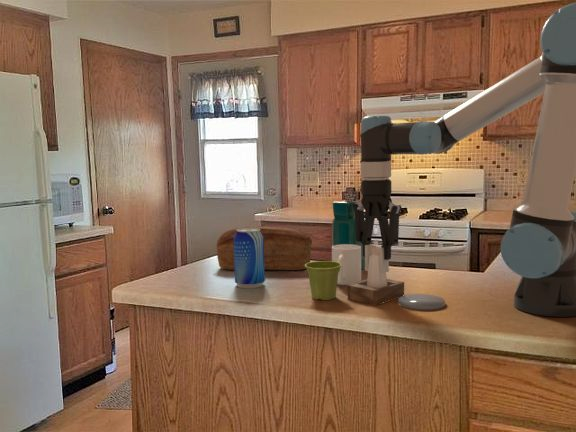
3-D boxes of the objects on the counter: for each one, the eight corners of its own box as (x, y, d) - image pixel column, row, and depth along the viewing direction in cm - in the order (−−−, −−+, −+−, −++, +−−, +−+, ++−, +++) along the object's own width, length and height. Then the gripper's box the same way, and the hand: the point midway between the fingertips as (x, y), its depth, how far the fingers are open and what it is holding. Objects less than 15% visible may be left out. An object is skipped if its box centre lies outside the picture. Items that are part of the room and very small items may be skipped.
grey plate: (453, 303, 134) (453, 299, 133) (429, 313, 126) (429, 308, 126) (414, 295, 141) (414, 291, 141) (389, 304, 133) (389, 300, 133)
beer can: (271, 284, 155) (269, 229, 153) (249, 290, 149) (247, 232, 147) (250, 280, 161) (249, 226, 159) (229, 286, 155) (227, 230, 153)
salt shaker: (362, 289, 140) (361, 246, 139) (374, 285, 144) (373, 243, 143) (380, 292, 136) (379, 248, 135) (391, 288, 140) (391, 245, 139)
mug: (354, 289, 148) (353, 252, 147) (324, 287, 151) (324, 250, 150) (364, 279, 159) (364, 244, 158) (336, 277, 162) (336, 243, 161)
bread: (311, 272, 171) (310, 229, 169) (214, 272, 174) (212, 230, 172) (313, 264, 183) (313, 224, 181) (222, 264, 186) (221, 224, 184)
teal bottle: (344, 266, 178) (343, 198, 176) (367, 268, 174) (367, 199, 171) (328, 271, 171) (327, 201, 168) (352, 274, 166) (351, 202, 163)
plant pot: (315, 304, 135) (314, 269, 134) (299, 295, 144) (298, 262, 143) (348, 299, 139) (348, 265, 138) (331, 291, 147) (330, 259, 146)
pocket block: (404, 295, 142) (404, 282, 141) (376, 305, 133) (376, 291, 133) (375, 289, 148) (375, 276, 147) (347, 298, 139) (347, 285, 139)
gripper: (413, 178, 134) (413, 272, 136) (358, 177, 145) (359, 264, 148) (396, 180, 128) (396, 278, 131) (340, 179, 140) (341, 269, 143)
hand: (376, 270), depth 139 cm, fingers closed on salt shaker, 4 cm apart
